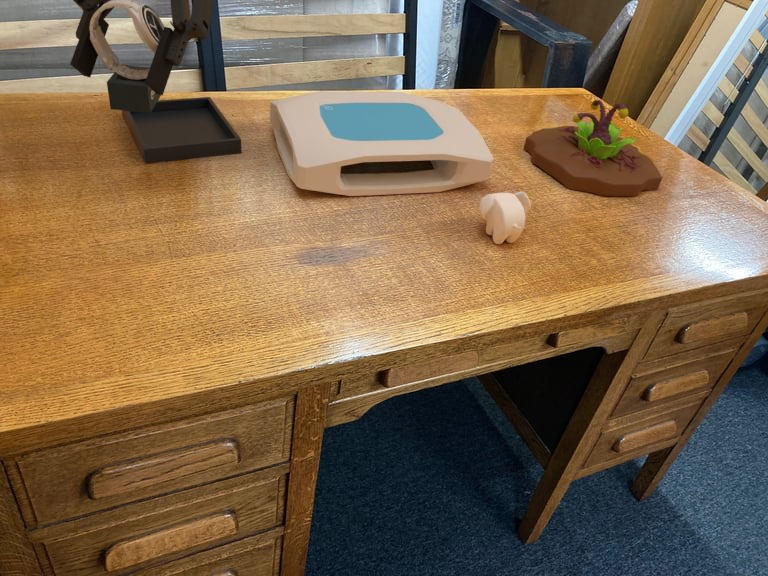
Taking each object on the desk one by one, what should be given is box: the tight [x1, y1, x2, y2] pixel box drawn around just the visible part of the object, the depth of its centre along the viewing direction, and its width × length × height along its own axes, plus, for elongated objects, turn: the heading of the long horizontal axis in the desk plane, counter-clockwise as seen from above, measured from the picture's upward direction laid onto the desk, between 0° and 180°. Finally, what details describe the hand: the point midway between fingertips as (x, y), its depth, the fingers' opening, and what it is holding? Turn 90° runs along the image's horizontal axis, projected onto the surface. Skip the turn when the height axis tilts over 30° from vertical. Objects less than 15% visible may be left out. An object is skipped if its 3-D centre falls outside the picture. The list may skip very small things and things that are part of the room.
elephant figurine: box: [478, 190, 532, 245], centre depth 79 cm, size 7×8×6 cm
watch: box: [89, 0, 165, 113], centre depth 69 cm, size 6×8×11 cm
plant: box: [523, 99, 663, 197], centre depth 98 cm, size 20×20×11 cm
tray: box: [121, 96, 242, 164], centre depth 91 cm, size 15×13×2 cm
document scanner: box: [269, 90, 495, 197], centre depth 91 cm, size 21×28×6 cm
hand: (116, 79), depth 68 cm, fingers closed on watch, 8 cm apart
